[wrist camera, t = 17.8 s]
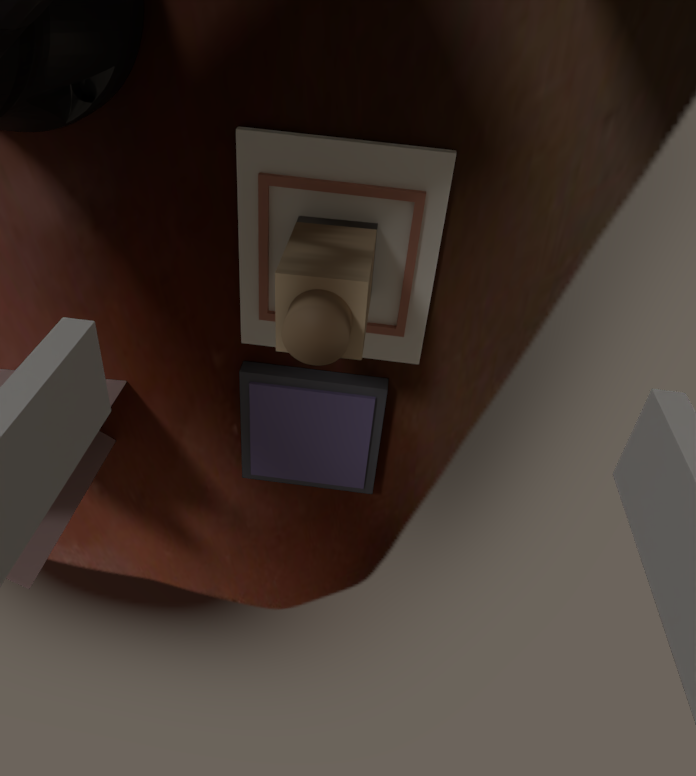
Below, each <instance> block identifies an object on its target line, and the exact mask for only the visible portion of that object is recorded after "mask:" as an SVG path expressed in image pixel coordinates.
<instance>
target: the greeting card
mask: <svg viewBox="0 0 696 776" xmlns="http://www.w3.org/2000/svg"><path fill="white" fill-rule="evenodd" d="M14 371H15V370H5V369H0V387H1V386H2V385H3V384H4V383H5V381H6V380H7V379H8V378H9V377H10V376H11V375H12V374H13V373H14ZM105 380H106V385H107V390H108V396H109V401H110V406H112V404H113V403H114V401H115V399H116V398H117V396H118V395H119V393H120V392H121V390H122V388H123V387H124V385H125V384H126V382H127V381H121V380H111V379H105ZM115 442H116V440H115V439H113V438H111V437H109V436H107V435H106V434H104V433H102V432H100V431H98V433H97V435H96V436H95V438H94V439H93V441H92V442H91V444H90V446H89V447H88V449H87V450H86V452H85V454H84V455H83V457H82V458H81V460H80V461H79V463H78V465H77V466H76V468H75V469H74V471H73V473H72V474H71V476H70V477H69V479H68V480H67V482H66V484H65V485H64V487H63V488H62V490H61V492H60V493H59V495H58V496H57V498H56V499H55V501H54V503H53V504H52V506H51V507H50V509H49V511H48V512H47V514H46V515H45V517H44V518H43V520H42V522H41V523H40V525H39V526H38V528H37V530H36V531H35V533H34V534H33V536H32V537H31V539H30V541H29V542H28V544H27V545H26V547H25V549H24V550H23V552H22V553H21V555H20V556H19V558H18V560H17V561H16V563H15V564H14V566H13V568H12V569H11V571H10V572H9V574H8V575H7V577H6V579H8V580H10V581H13V582H15V583H17V584H19V585H21V586H23V587H26V588H28V589H30V587H31V585H32V583H33V582H34V580H35V578H36V577H37V575H38V573H39V571H40V570H41V568H42V566H43V565H44V563H45V561H46V560H47V558H48V556H49V554H50V553H51V551H52V549H53V548H54V546H55V544H56V542H57V541H58V539H59V537H60V536H61V534H62V532H63V530H64V529H65V527H66V525H67V524H68V522H69V520H70V519H71V517H72V515H73V513H74V512H75V510H76V508H77V507H78V505H79V503H80V501H81V500H82V498H83V496H84V495H85V493H86V491H87V490H88V488H89V486H90V484H91V483H92V481H93V479H94V478H95V476H96V474H97V472H98V471H99V469H100V467H101V466H102V464H103V462H104V460H105V459H106V457H107V455H108V454H109V452H110V450H111V449H112V447H113V445H114V443H115Z"/></svg>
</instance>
